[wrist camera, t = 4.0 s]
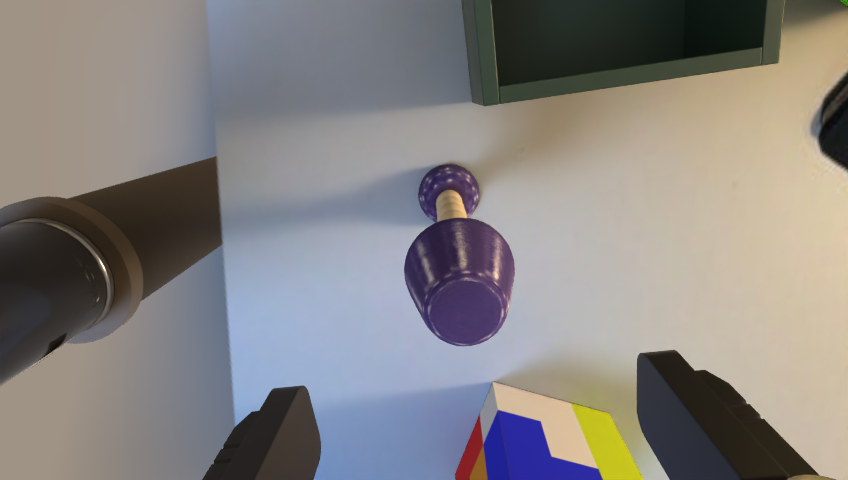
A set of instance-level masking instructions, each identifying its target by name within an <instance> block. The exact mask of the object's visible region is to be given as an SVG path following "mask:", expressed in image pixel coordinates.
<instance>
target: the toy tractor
mask: <svg viewBox="0 0 848 480" xmlns="http://www.w3.org/2000/svg"><path fill="white" fill-rule="evenodd" d="M839 1H840V2H842V3H843V4H844V5H846V6H847V7H848V0H839Z"/></svg>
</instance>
